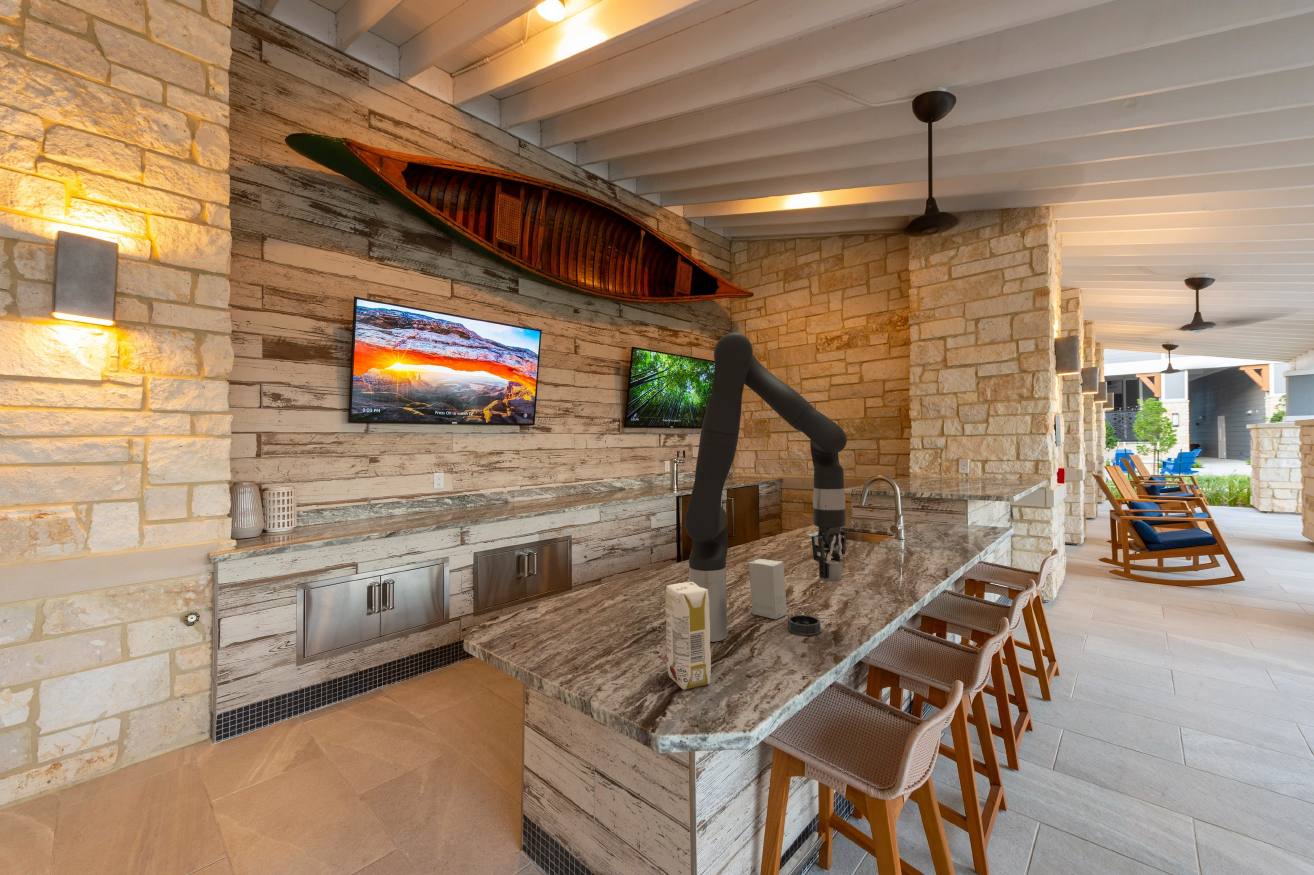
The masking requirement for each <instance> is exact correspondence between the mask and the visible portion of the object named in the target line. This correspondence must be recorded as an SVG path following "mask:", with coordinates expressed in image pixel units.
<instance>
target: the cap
mask: <svg viewBox="0 0 1314 875" xmlns="http://www.w3.org/2000/svg"><path fill="white" fill-rule="evenodd" d="M818 578H819V580H820V581H821V580H822V581H823V582H833V583H835V582H841V581H842V579H843V578H842V562H839V561H834V560H831V559H829V578H827V579H824V578H820V577H819V576H818Z"/></svg>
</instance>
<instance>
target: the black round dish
mask: <svg viewBox="0 0 1314 875" xmlns="http://www.w3.org/2000/svg"><path fill="white" fill-rule="evenodd" d="M787 629H788V632H790V633H791V634H793V635H797V636H801V637H802V636H803V637H814V636H818V635H820V633H821V620H820V619H819V617H818V618H817V617H816V616H813V615H812V616H811V615H805V614H799V615H791V616H789V617H788V619H787Z"/></svg>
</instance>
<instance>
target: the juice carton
mask: <svg viewBox="0 0 1314 875" xmlns="http://www.w3.org/2000/svg"><path fill="white" fill-rule="evenodd" d="M665 630H666V631H665V633H666V634H665V637H666V638H665V639H666V640H665V641H666V643H665V644H666V667H667V674H668V676H669V678H670V679H671V680H672V681H673V682H675V683H676V684H677V685H678V686H679V688H681V689H682V690H689V689H693V688H698V687H702V686H705V685H709V684H711V674H712V673H711V672H712V659H711V658H712V657H711V656H712V654H711V651H712V650H711V642H710V607H709V595H708V589H705V588H702V587H699V586H698V585H697V584H695V583H694V582H690V581H688V582H687V581H686V582H679V583H678V582H677V583H673V584H666V590H665Z"/></svg>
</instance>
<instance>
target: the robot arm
mask: <svg viewBox="0 0 1314 875" xmlns="http://www.w3.org/2000/svg"><path fill="white" fill-rule="evenodd" d="M753 348H754V347H753V346H752V343H751V341H750V340H749V338H747V336H745V335H744V334H742V333H740V332H730V333H727V334H724V335H723V336H722V337H721V338H720V339H719V340H718V341H717V343H716V345H715V347H714V350H713V359H714V371H713V382H712V388H711V389H712V390H711V392H710V393H711V394H710V396H709V398H708V399H709V400H708V402H707V405H706V409H705V413H704V417H703V420H702V426H701V430H700V436H699V443H698V451H697V458H696V465H695V466H696V467H695V475H694V481H693V487H692V491H691V494H690V499H689V502H688V505H687V509H686V513H685V516H684V517H685V518H684V527H685V531H686V533H687V535H688V536H689V538H691V539H692V547H691V550H690V553H689V557H688V566H689V569H688V572H689V574H688V576H689V582H694V583H695V584H697V585H698V586H699V587H702V588H705V589H708V595H709V607H710V643H711V642H712V643H714V642H719V641H724V640H725V639H727V638H728V602H727V601H728V599H727V598H728V595H727V594H728V591H727V556H728V551H729V550H728V549H729V548H728V547H729V544H728V543H729V542H728V541H729V539H728V538H729V534H728V533H729V530H728V528H729V527H728V526H729V525H728V516H727V513H726V510H725V509H724V507H722V506H721V504H722V496H723V490H724V486H725V483H726V480H727V478H728V475H729V473H730V471H731V467H732V465H733V463H734V460H735V456H736V451H737V448H738V441H739V434H740V427H741V416H742V407H743V405H742V400H743V394H744V393H743V392H744V389H745V388H744V387H745V385H746V387H748V388H749V389H751V391H753V393H756V395H757V396H759V397H760V399H761V400H763V401H764V402H765V403H766V404H767V405H768V406H769V407H770V408H771V409H772V410H773V411H775V413H776V414H778V416H780V417H781V418H782V419H783V420H784V421H785V422H786V423H787V424H789V425H790V426H791V427H792V428H793V429H795V430H796V431H798V432H801V433H803V435H805V436H806V437H808V439H809V440H810V441H809V443H810V444H809V445H810V446H809V447H810V454H811V461H812V467H813V493H812V509H813V511H812V512H813V521H812V522H813V526H815V527H818V533H817V535H816V536H814V535H813V536H811V547H812V548H811V549H812V555H813V560H814V561H816V562H818V578H819V577H820V578H824V579H827V578H829V560H834V561H839V562H841V559H842V558H843V555H844V556H845V554H846V548H847V547H846V546H847V530H843V529H842V528H844V527H846V524H847V523H846V495H845V494H846V493H845V481H844V480H845V478H844V476H845V475H844V474H845V473H844V469H843V466H842V465H841V463H840V460H839V453H840V452H842V451H843V450H845V448H846V446H847V442H848V441H847V440H848V438H847V435H846V432H845V431H844V430H843V428H841V426H840V425H839V424H837V423H836V422H835V421H833V420H832V419H831V418H829V416H826V415H825V414H824V413H822V412H820V411H819V410H817V409H816V408H815V407H814V406H813V405H812V404H811V403H810V402H809V401H808V400H807V399H806V398H805V397H803V396H802V395H801V394H800V393H799V392H798V391H796V390H795V389H794V388H793V387H792V386H790V385H789V384H787V383H785V382H784V381H783V380H781V379H780V378H778V377H777V376H775V374H773V373H771V371H769V370H768V369H767V368H765V366H764V365H763V364H762V363H761V362H760V361H759V360H758V358H756V357H755V355H754V350H753ZM841 563H842V562H841Z"/></svg>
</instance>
